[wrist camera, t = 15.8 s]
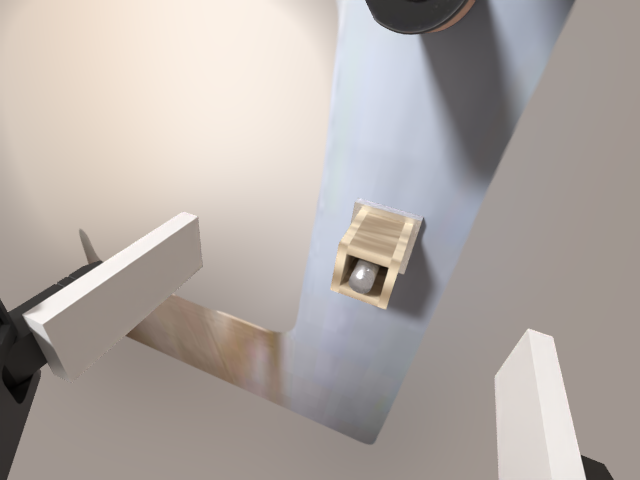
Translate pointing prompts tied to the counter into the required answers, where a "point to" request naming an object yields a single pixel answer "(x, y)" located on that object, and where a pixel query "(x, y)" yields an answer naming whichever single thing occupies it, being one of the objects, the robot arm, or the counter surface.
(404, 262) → the post stand
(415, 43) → the counter surface
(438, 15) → the travel mug
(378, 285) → the birch sleeve
